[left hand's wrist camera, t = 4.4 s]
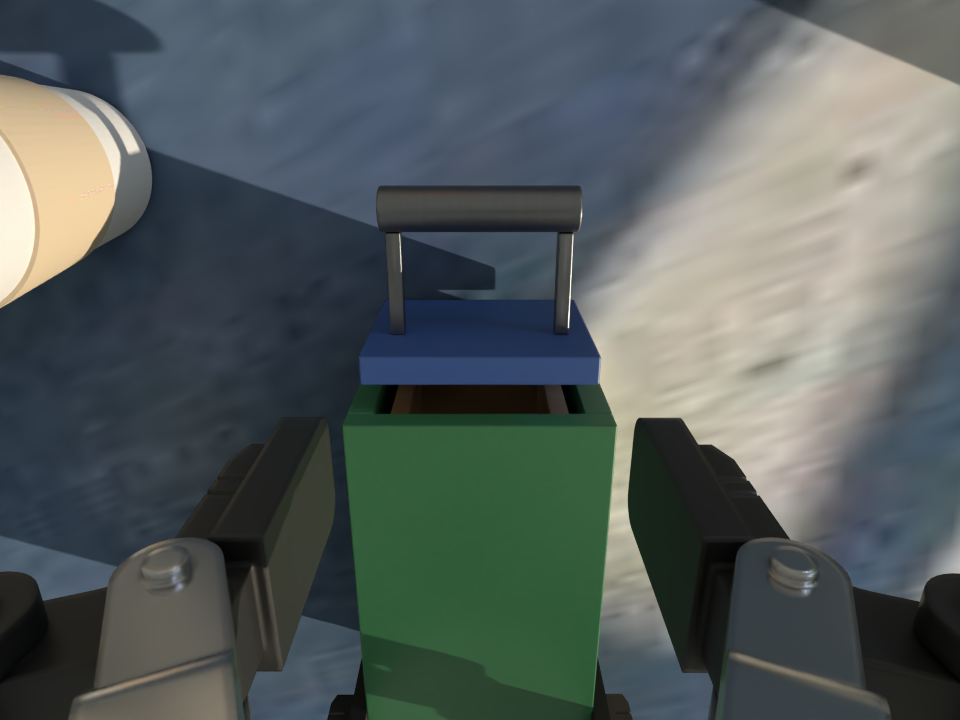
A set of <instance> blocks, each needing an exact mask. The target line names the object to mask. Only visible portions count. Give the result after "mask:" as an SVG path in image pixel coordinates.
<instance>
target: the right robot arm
mask: <svg viewBox="0 0 960 720" xmlns="http://www.w3.org/2000/svg"><path fill="white" fill-rule="evenodd" d="M327 720H368V718H367V708H366V697H365V685H364V674H363V662H362V659H361V664H360V669H359V674H358V678H357V683H356V688H355V693H354V695H337V696H336V698H335V699H334V700H333V702H332V703H331V707H330V711H329V715H328V719H327ZM592 720H632V716H631V712H630V708H629V703H628V702H627V700H626V699H625V697H624V696H623V695H622V694H605V690H604V685H603V680H602V676H601V671H600V666H599V661H598V657H597V668H596V679H595V691H594V702H593V712H592Z"/></svg>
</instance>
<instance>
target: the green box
mask: <svg viewBox="0 0 960 720" xmlns="http://www.w3.org/2000/svg"><path fill="white" fill-rule="evenodd" d="M561 387H562V391H563V394H564V398H565V401H566V405H567V408H568V412H569V414H390V413H391V410H392V406H393V403H394V399H395V396H396V392H397V389H398V385H361V384H360V385H359V387H358V390H357V392H356V394H355V397H354V399H353V402H352V404H351V406H350V409H349V411H348V413H347V416H346V418H345V420H344V423H343V425H342V435H343V446H344V457H345V469H346V480H347V492H348V503H349V514H350V526H351V537H352V548H353V560H354V571H355V583H356V594H357V605H358V617H359V628H360V640H361V651H362V662H363V674H364V685H365V697H366V708H367V718H368V720H592V712H593V702H594V691H595V679H596V668H597V656H598V644H599V633H600V621H601V610H602V598H603V587H604V575H605V563H606V552H607V540H608V529H609V517H610V506H611V494H612V483H613V471H614V459H615V448H616V436H617V425H616V422H615V420H614V417H613V415H612V412H611V410H610V407H609V405H608V403H607V400H606V398H605V395H604V393H603V391H602V388H601V386H600V384H598V385H561Z"/></svg>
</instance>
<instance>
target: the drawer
mask: <svg viewBox="0 0 960 720" xmlns="http://www.w3.org/2000/svg"><path fill="white" fill-rule="evenodd" d="M376 212H377V222H378V227H379V230H380V231H381V232H386V233H385V242H386V261H387V280H388V298H389V300H385V302H384V304H383V306H382V308H381V310H380V313H379V315H378V317H377V319H376V321H375V323H374V325H373V327H372V329H371V332H370V334H369V336H368V338H367V340H366V342H365V344H364V346H363V348H362V351H361V353H360V355H359V357H358V364H359V377H360V384H361V385H398V389H397V392H396V396H395V399H394V403H393V406H392V410H391V413H390V414H569V412H568V408H567V405H566V401H565V398H564V394H563V391H562V387H561V385H598V384H599V379H600V365H601V357H600V354H599V352H598V350H597V348H596V346H595V344H594V342H593V340H592V337H591V335H590V333H589V331H588V329H587V327H586V325H585V322H584V320H583V318H582V316H581V314H580V312H579V310H578V308H577V305H576V303H575V301H574V300H570V299H571V280H572V261H573V242H574V234H573V232H578V231H579V230H580V227H581V222H582V212H583V197H582V190H581V187H580V186H379V187H378V190H377V197H376ZM402 232H557V252H556V275H555V298H554V300H405V293H404V270H403V248H402Z"/></svg>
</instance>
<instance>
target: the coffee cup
mask: <svg viewBox="0 0 960 720" xmlns="http://www.w3.org/2000/svg"><path fill="white" fill-rule="evenodd" d="M151 190H152V170H151V164H150V160H149V156H148V153H147V151H146V148H145V146H144V144H143V141H142V140H141V138H140V136H139V134H138V133H137V131H136V130H135V128H134V127H133V126H132V124H131V123H130V122H129V121H128V120H127V119H126V118H125V117H124V116H123V115H122V114H121V113H120V112H119V111H118V110H117V109H115V108H114V107H113V106H112V105H110V104H109V103H107V102H105V101H104V100H102V99H100V98H98V97H96V96H94V95H91V94H88V93H85V92H82V91H77V90H71V89H65V88H58V87H52V86H45V85H39V84H36V83H33V82H31V81H28V80H25V79H21V78H17V77H12V76H6V75H0V308H2V307H3V306H5V305H7V304H8V303H10V302H12V301H13V300H15V299H17V298H18V297H20V296H22V295H23V294H25V293H27V292H28V291H30V290H32V289H33V288H35V287H37V286H39V285H40V284H42V283H44V282H45V281H47V280H49V279H50V278H52V277H54V276H55V275H57V274H59V273H60V272H62V271H64V270H65V269H67V268H69V267H70V266H72V265H74V264H75V263H77V262H79V261H81V260H82V259H84V258H85V257H86V256H88V255H89V254H90V253H91V252H92V251H93V250H94V249H96V248H98V247H100V246H101V245H103V244H105V243H107V242H108V241H110V240H112V239H114V238H116V237H117V236H119V235H121V234H123V233H124V232H126V231H127V230H129V229H130V228H131V227H133V226H134V225H135V224H136V223H137V221H138V220H139V219H140V218H141V216H142V215H143V213H144V211H145V210H146V207H147V205H148V202H149V199H150V195H151Z"/></svg>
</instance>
